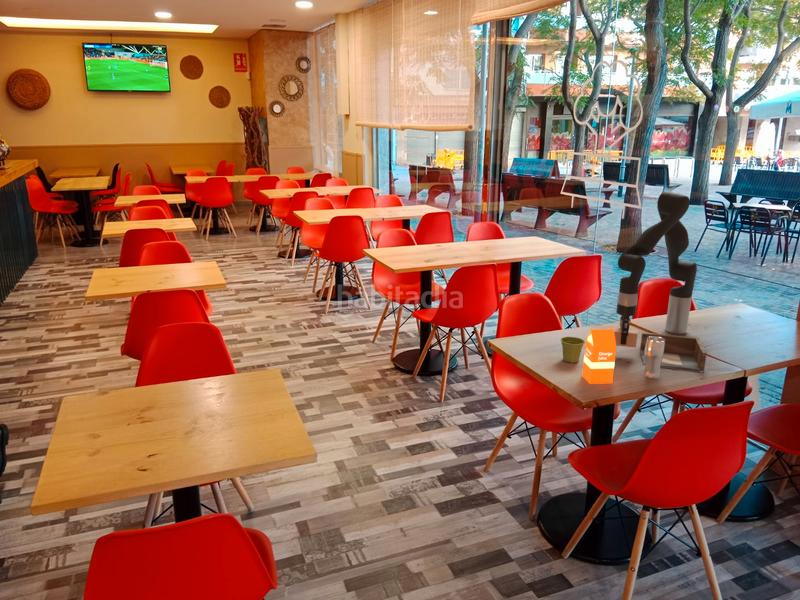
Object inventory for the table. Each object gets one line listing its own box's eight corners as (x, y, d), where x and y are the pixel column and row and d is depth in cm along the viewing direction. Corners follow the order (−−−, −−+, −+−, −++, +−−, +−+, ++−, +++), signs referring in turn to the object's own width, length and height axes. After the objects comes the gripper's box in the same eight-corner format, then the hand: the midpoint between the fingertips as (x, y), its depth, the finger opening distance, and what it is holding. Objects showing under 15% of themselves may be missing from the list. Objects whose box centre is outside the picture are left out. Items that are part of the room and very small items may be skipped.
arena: (639, 350, 262) (642, 332, 259) (696, 355, 256) (698, 337, 253) (643, 365, 245) (645, 346, 243) (703, 372, 239) (706, 352, 237)
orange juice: (612, 383, 228) (618, 332, 222) (589, 384, 227) (594, 332, 222) (604, 375, 236) (609, 325, 230) (581, 375, 235) (586, 326, 229)
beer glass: (646, 370, 240) (651, 334, 236) (664, 375, 235) (669, 338, 231) (638, 375, 235) (642, 338, 231) (656, 380, 231) (661, 343, 226)
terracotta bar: (610, 345, 253) (611, 331, 252) (609, 340, 258) (611, 327, 256) (635, 347, 251) (637, 333, 249) (635, 343, 255) (636, 329, 254)
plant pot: (555, 356, 254) (557, 336, 251) (577, 355, 255) (579, 336, 252) (563, 365, 245) (565, 344, 242) (586, 364, 246) (588, 344, 243)
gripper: (616, 297, 257) (612, 335, 262) (618, 306, 244) (613, 347, 248) (635, 298, 255) (631, 337, 260) (638, 308, 242) (633, 349, 246)
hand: (622, 341), depth 254 cm, fingers closed on terracotta bar, 5 cm apart
